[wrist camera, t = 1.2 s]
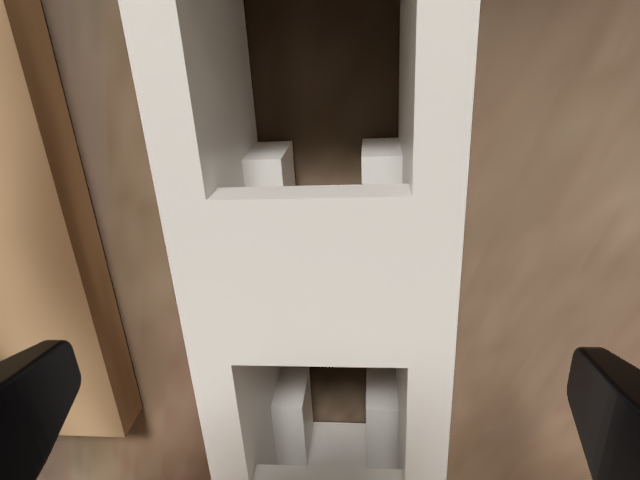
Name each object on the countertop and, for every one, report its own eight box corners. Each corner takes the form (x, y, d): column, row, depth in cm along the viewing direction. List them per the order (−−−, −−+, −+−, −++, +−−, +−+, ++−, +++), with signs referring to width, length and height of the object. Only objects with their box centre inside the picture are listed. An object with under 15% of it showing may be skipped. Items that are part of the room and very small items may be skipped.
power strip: (188, -129, 12) (75, -220, 7) (446, -153, 11) (499, -267, 7) (262, 440, 19) (229, 572, 15) (421, 445, 18) (439, 585, 14)
